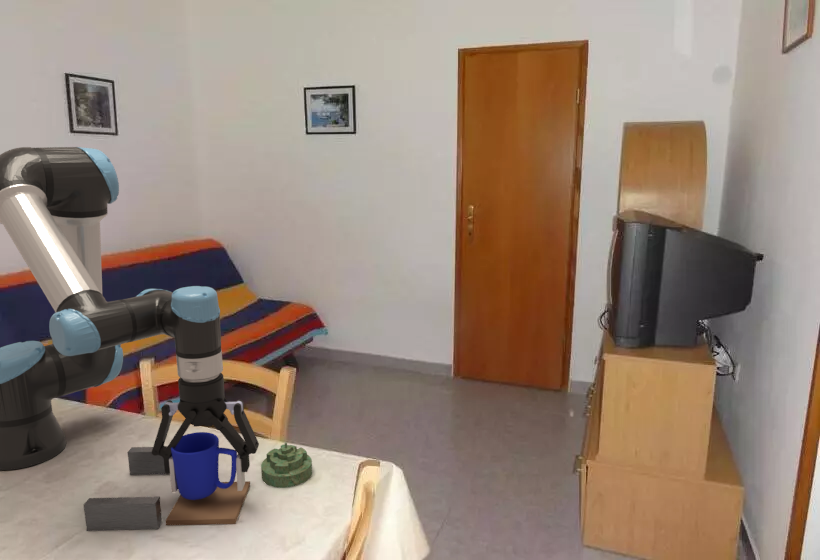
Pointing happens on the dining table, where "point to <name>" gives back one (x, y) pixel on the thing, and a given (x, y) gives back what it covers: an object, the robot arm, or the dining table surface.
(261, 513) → the dining table surface
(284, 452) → the decorative artifact
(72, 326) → the robot arm
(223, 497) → the walnut board
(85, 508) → the vise jaws
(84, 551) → the dining table surface
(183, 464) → the mug
